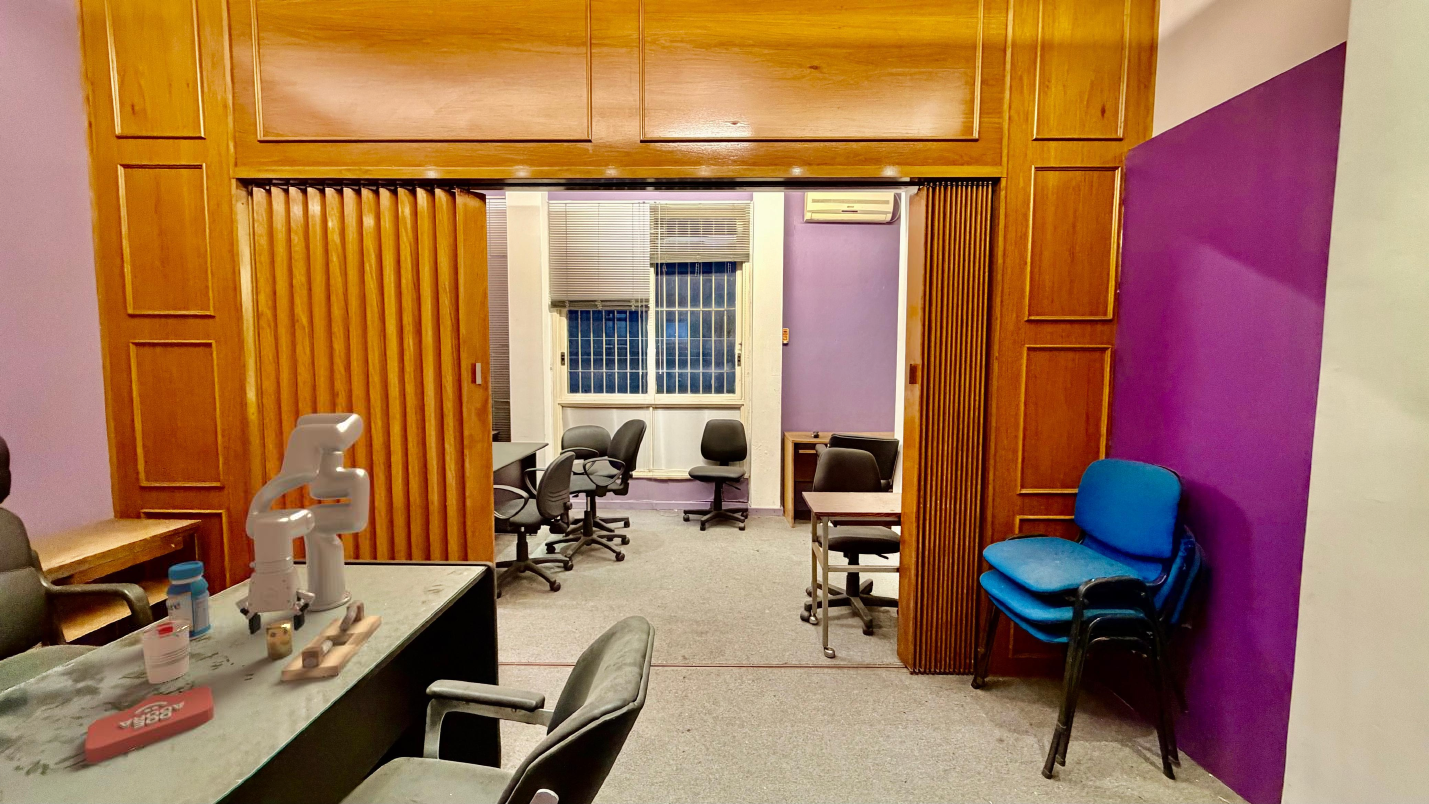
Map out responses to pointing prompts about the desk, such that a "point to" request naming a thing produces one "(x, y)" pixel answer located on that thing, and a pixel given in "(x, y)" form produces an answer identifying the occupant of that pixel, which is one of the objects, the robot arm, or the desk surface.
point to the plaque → (148, 722)
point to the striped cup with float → (166, 650)
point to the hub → (279, 640)
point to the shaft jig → (320, 652)
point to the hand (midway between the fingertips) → (277, 630)
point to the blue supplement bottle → (189, 597)
